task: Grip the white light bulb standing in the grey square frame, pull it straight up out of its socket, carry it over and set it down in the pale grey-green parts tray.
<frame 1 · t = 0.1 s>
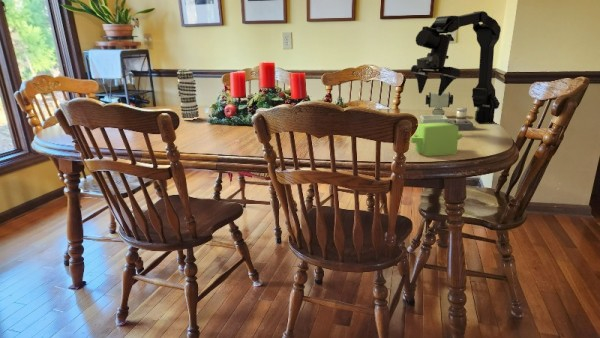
hand: (429, 94, 153), 15 cm above the table, tool pointing down, fingers open, 9 cm apart
decorative candle: (191, 119, 211), on the table
grey square frame: (460, 127, 166), on the table
white light bulb: (460, 128, 166), resting in grey square frame
pneumatic valve: (438, 117, 189), on the table
gearbox: (436, 152, 136), on the table
parts tray: (433, 123, 177), on the table
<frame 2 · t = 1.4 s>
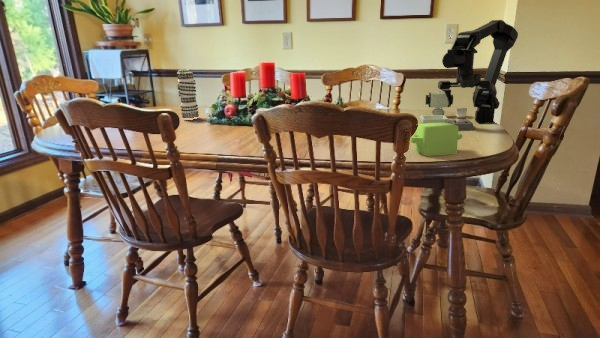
hand: (462, 106, 163), 9 cm above the table, tool pointing down, fingers open, 9 cm apart
nothing on the table moved.
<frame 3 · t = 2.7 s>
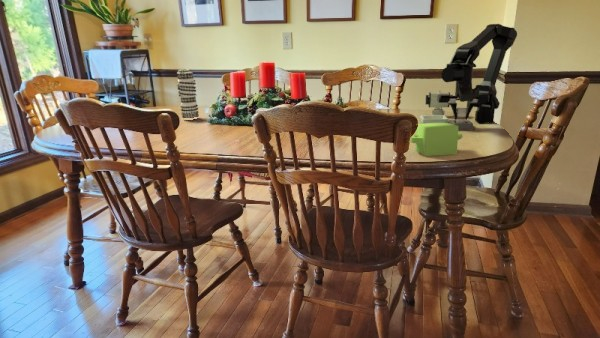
hand: (460, 119, 165), 4 cm above the table, tool pointing down, fingers closed on white light bulb, 4 cm apart
white light bulb: (460, 128, 166), resting in grey square frame, touching gripper
everything else where it was.
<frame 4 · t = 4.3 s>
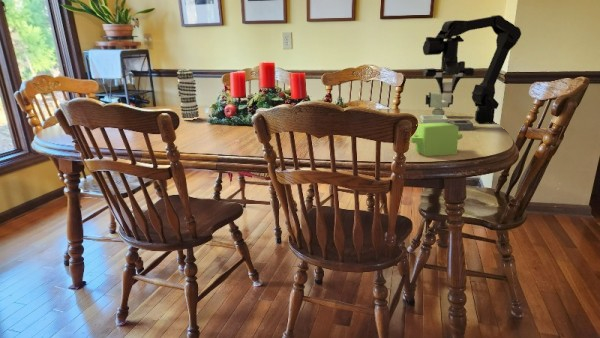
hand: (446, 93, 168), 13 cm above the table, tool pointing down, fingers closed on white light bulb, 4 cm apart
white light bulb: (446, 102, 168), point 10 cm above the table, touching gripper
everything else where it was.
when the fingers open (6 cm above the table, at t = 6.2 s): white light bulb drops 2 cm, resting on parts tray.
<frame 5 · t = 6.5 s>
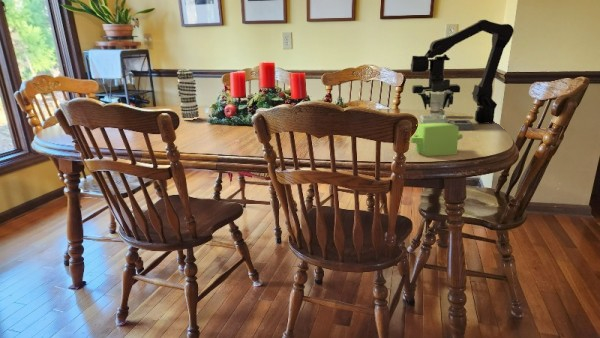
hand: (434, 109, 175), 6 cm above the table, tool pointing down, fingers open, 7 cm apart
white light bulb: (433, 121, 176), point 1 cm above the table, touching parts tray
everything else where it was.
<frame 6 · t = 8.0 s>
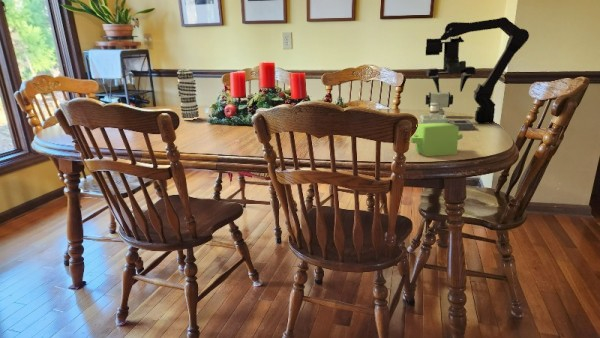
hand: (449, 92, 174), 13 cm above the table, tool pointing down, fingers open, 9 cm apart
nothing on the table moved.
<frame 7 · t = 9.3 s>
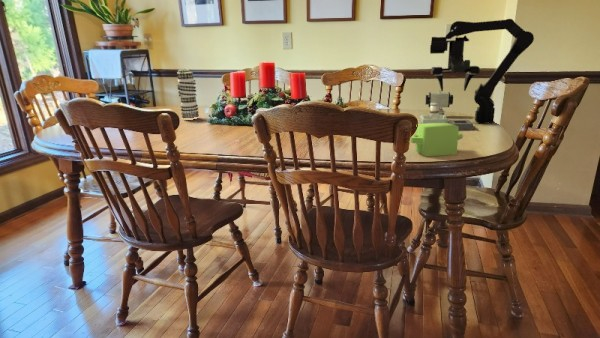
hand: (453, 91, 175), 13 cm above the table, tool pointing down, fingers open, 9 cm apart
nothing on the table moved.
at the end: white light bulb inside the target area on the parts tray (0.1 cm from its centre), point 0.6 cm above the parts tray's base; the gripper is holding nothing; white light bulb touching parts tray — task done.
